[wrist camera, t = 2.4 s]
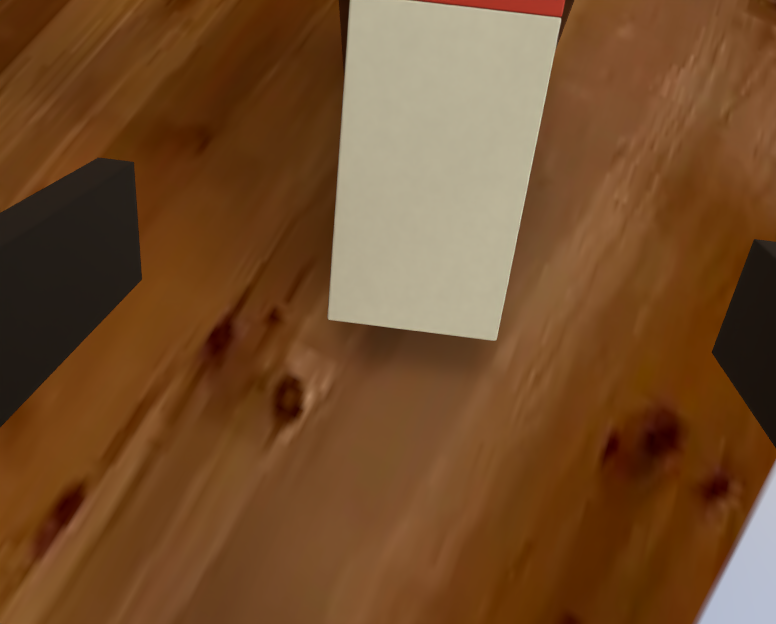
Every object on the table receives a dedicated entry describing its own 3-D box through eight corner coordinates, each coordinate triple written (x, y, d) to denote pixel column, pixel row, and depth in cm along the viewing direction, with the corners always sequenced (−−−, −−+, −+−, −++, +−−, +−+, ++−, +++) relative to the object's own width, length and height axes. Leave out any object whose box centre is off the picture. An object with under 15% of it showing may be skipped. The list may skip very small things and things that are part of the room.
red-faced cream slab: (481, 364, 30) (558, 245, 17) (333, 345, 30) (303, 213, 17) (503, 108, 34) (579, -139, 21) (372, 92, 34) (371, -162, 21)
